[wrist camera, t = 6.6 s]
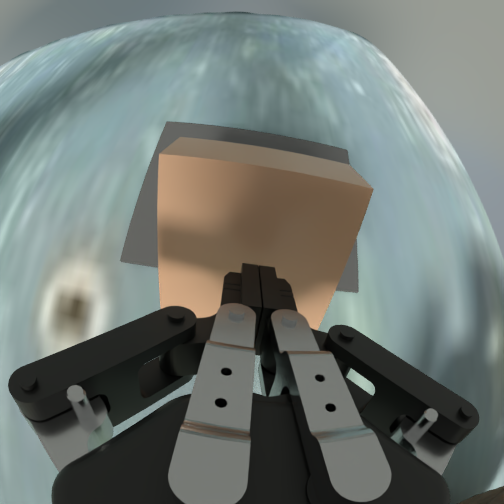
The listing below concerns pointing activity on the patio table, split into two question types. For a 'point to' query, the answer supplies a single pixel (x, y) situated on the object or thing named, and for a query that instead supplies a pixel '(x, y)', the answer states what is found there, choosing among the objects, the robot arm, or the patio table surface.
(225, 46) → the patio table surface
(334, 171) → the peach block
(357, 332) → the robot arm
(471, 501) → the clay pot
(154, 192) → the charcoal mat
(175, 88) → the patio table surface
